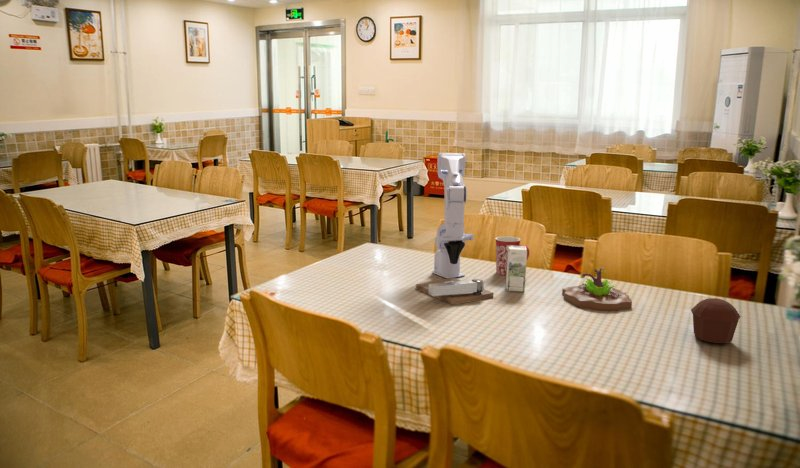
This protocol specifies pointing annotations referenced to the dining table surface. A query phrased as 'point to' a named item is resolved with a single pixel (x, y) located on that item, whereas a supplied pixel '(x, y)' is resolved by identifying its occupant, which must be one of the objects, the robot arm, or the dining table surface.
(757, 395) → the dining table surface
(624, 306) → the plant
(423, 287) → the label board
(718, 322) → the muffin
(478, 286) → the swing bar
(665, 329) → the dining table surface
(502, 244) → the mug
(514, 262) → the syrup box
